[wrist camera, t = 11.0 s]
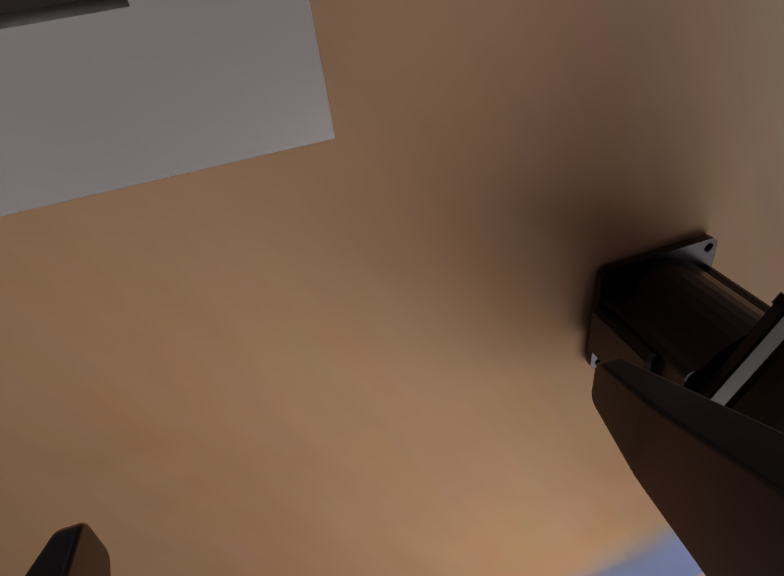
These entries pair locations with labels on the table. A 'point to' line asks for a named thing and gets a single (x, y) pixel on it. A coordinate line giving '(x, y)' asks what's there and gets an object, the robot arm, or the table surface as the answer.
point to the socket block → (149, 91)
